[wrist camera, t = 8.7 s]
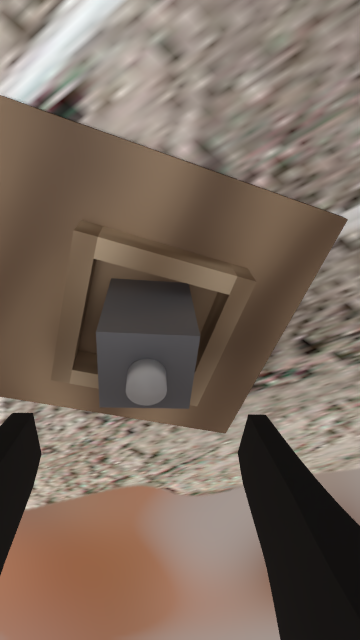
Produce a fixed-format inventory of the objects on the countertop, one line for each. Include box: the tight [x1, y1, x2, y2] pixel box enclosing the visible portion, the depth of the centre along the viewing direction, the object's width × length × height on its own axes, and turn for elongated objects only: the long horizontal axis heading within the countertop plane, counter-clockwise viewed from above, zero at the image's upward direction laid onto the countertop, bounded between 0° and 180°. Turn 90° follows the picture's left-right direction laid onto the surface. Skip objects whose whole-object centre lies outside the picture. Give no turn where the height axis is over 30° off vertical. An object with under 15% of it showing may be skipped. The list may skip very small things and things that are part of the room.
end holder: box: [0, 95, 348, 433], centre depth 17 cm, size 16×16×2 cm
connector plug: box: [96, 278, 200, 409], centre depth 15 cm, size 4×4×6 cm
